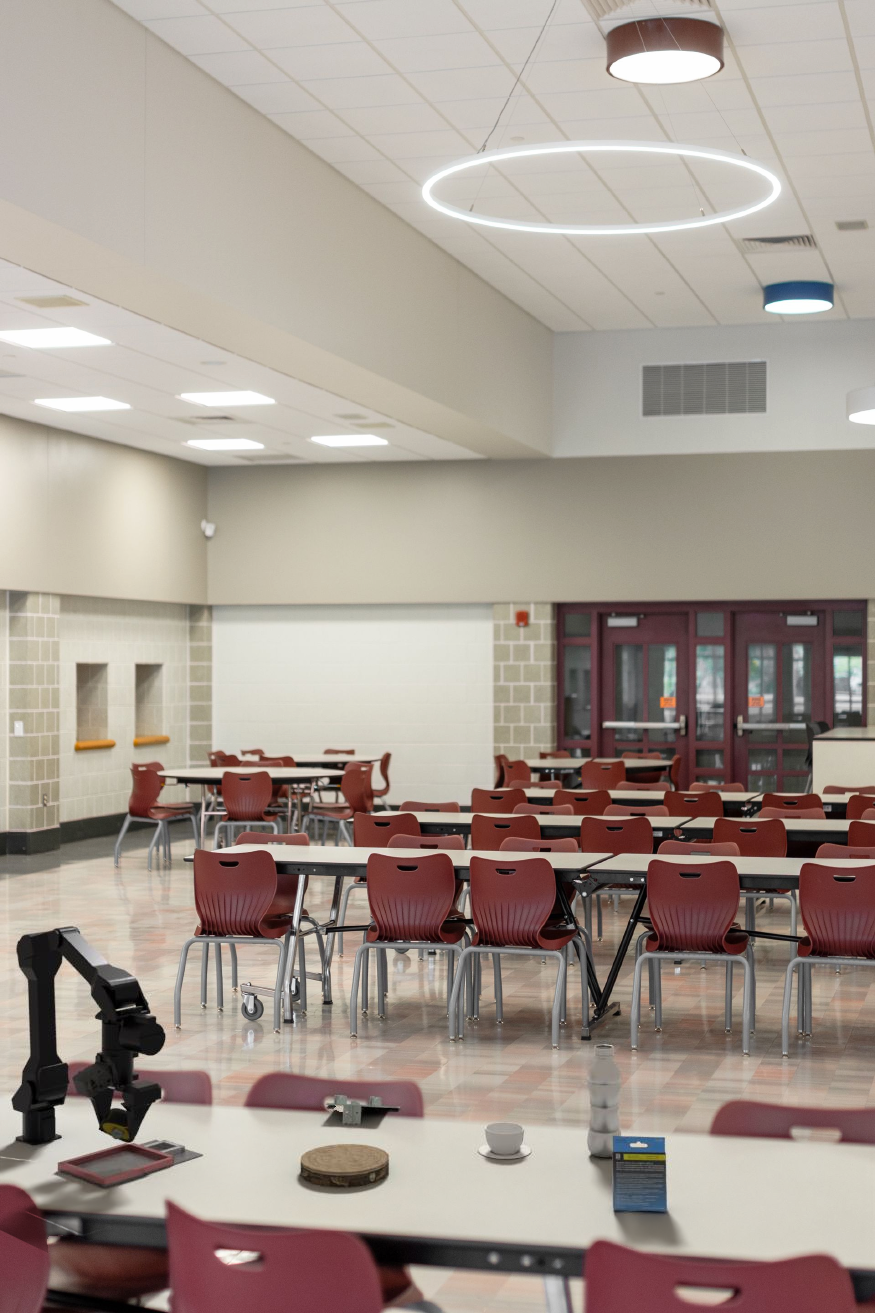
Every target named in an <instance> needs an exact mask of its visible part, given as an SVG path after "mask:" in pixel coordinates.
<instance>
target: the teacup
mask: <svg viewBox="0 0 875 1313" xmlns="http://www.w3.org/2000/svg"><path fill="white" fill-rule="evenodd" d="M484 1134H485V1139H486V1140H485V1141H486V1142H487V1143H486V1144H483V1145H481V1146H479V1148H478V1149H477V1152H478V1153H479V1154H480V1155H482V1156H484V1157H488V1158H492V1159H497V1160H498V1159H499V1160H513V1159H520V1158H524V1157H526V1156H529V1155H530V1154H531V1153H532V1148H530V1147H529V1146H527V1145H525V1144H523V1141H524V1134H525V1127H524V1126H523V1125H522V1124H519V1123H516V1122H509V1121H502V1122H501V1121H499V1122H491V1123H488V1124H487V1125H485V1127H484ZM519 1149H520V1151H519ZM490 1150H491V1151H492V1152H493V1153H492V1152H491V1151H490ZM517 1151H519V1152H518V1153H517Z"/></svg>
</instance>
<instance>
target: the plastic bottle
mask: <svg viewBox="0 0 875 1313" xmlns="http://www.w3.org/2000/svg"><path fill="white" fill-rule="evenodd" d="M614 1051H615V1049H614V1046H613V1045H611V1044H596V1045H595V1046H594V1050H593V1058H595V1060H593V1062H592V1063H591V1065H590V1067H589V1069H588V1070H587V1075H586V1077H587V1086H588V1092H589V1105H590V1107H589V1108H590V1114H589V1127H588V1131H587V1139H586V1140H587V1141H586V1143H587V1149H588V1151H589V1153H590V1154H591V1155H592V1156H595V1157H599V1158H612V1151H613V1136H622V1132H621V1127H620V1126H621V1125H620V1117H619V1116H620V1115H619V1114H620V1113H619V1108H620V1107H619V1105H620V1095H621V1094H620V1092H621V1085H622V1072H621V1070H620V1068H619V1067H618V1065H617V1064H616V1062H615V1061H614V1058H615V1053H614Z"/></svg>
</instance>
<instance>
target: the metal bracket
mask: <svg viewBox="0 0 875 1313" xmlns="http://www.w3.org/2000/svg"><path fill="white" fill-rule="evenodd" d="M347 1102H348V1096H347V1095H343V1094H340V1095H339V1094H337V1095H336V1094H335V1095H334V1097H333V1102H331V1103H330V1102H329V1103H328V1102H326V1103H325V1105H327V1106H339V1107H342V1106H343V1108H342V1109H343V1110H342V1125H343V1124H346V1125H347V1124H348V1125H361V1120H362V1119H361V1118H362V1107H363V1108H364V1107H366V1108H367V1107H368V1108H382V1109H383V1108H385V1109H387V1108H388V1109H390V1108H391V1109H401V1106H399V1105H397V1106H396V1105H382V1096H370V1097H369V1104H360V1102H359V1101H356V1100H354V1099H351V1100H350V1103H347Z"/></svg>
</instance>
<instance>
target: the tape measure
mask: <svg viewBox="0 0 875 1313" xmlns="http://www.w3.org/2000/svg"><path fill="white" fill-rule="evenodd" d="M98 1125H99V1124H98ZM139 1130H140V1129H139ZM139 1130H138V1132H137V1134H136V1136H135V1137H134V1138H129V1134H128V1124H127V1111H126V1109H123V1108H118V1107H114V1108H111V1109H110V1110H109V1111H107V1112H106V1113H105V1115H104V1118H103V1120H102V1122H101V1124H100V1125H99V1126H98V1131H101V1132H102V1133H104V1134H106V1135H109V1136H111V1137H112V1138H113V1139H114V1140H118V1141H121V1142H123V1143H127V1144H131V1143H134V1141H135V1139H136V1137H137V1135H138V1133H139Z"/></svg>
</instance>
